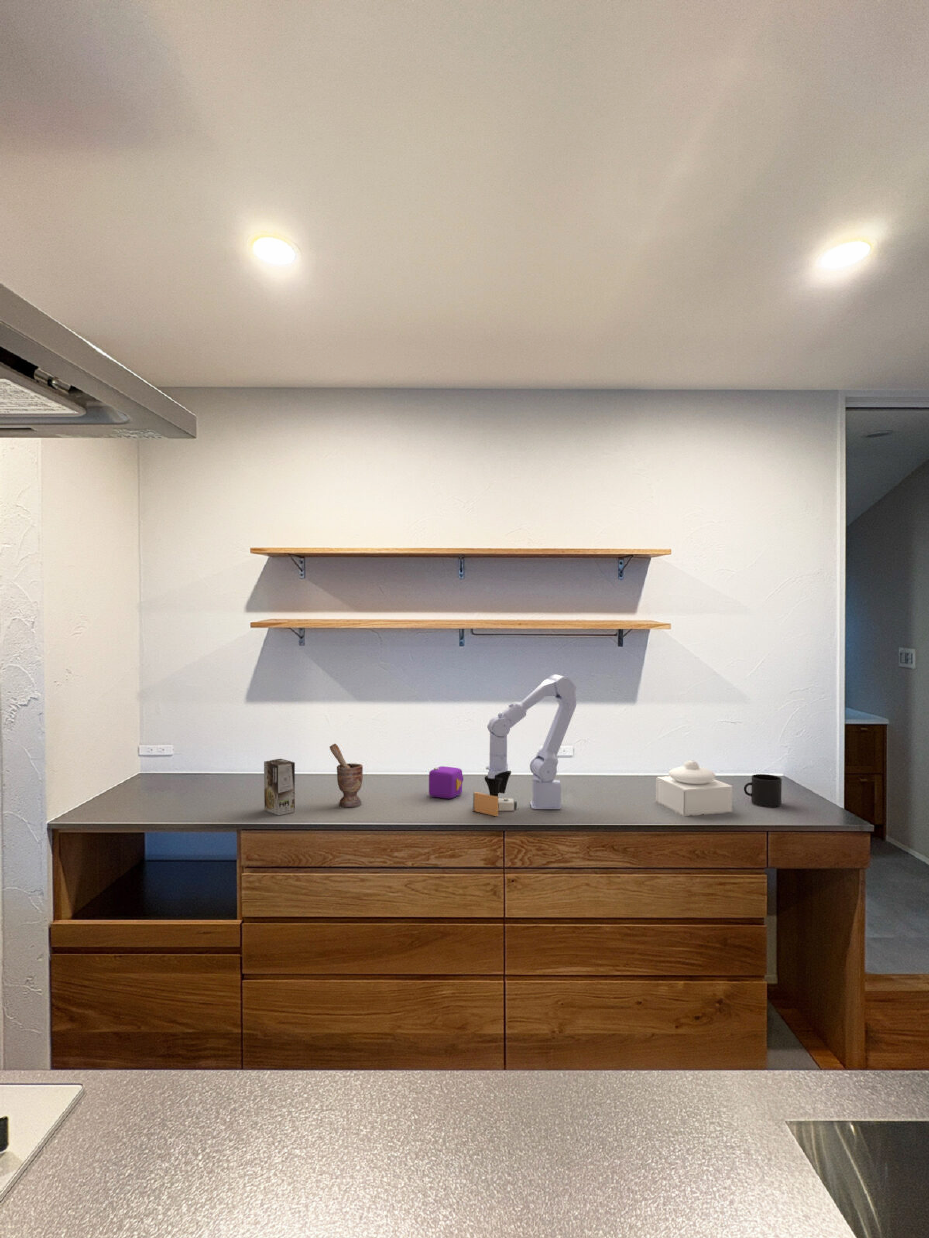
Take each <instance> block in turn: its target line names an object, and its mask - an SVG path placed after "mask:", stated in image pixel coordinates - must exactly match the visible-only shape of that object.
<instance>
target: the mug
mask: <svg viewBox="0 0 929 1238" xmlns="http://www.w3.org/2000/svg"><path fill="white" fill-rule="evenodd" d="M782 780H783V779H782V777H780V776H777V775H773V774H764V773H763V774H762V773H758V774H752V775H751V781H750V782H747V783H745V784H744V787H743V792H744V794H745V795H746V796H748V797H751V798H750V799H751V804H752V805H755V806H757V807H763V808H778V807H781V805H782V792H783V791H782V789H783V788H782V787H783V786H782V785H783V784H782ZM748 786H750V787H751V792H748V790H747V787H748Z"/></svg>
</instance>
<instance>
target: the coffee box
mask: <svg viewBox="0 0 929 1238" xmlns="http://www.w3.org/2000/svg"><path fill="white" fill-rule="evenodd" d="M295 767H296V763H295V762H294V761H291V760H287V759H283V758H276V759H271V760H266V761H264V762H263V783H264V785H263V788H264V789H263V793H264V794H263V797H264V798H263V799H264V801H263V802H264V811H266V812H269V813H271V814H273V815H276V816H282V815H286V814H287V815H288V814H291V813H296V811H295V810H296V807H295V806H296V805H295V804H296V799H295V798H296V793H295V791H296V790H295V789H296V788H295V786H296V784H295V783H296V777H295V775H296V774H295V773H296V772H295V771H296V770H295V769H296V768H295Z"/></svg>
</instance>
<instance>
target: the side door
mask: <svg viewBox="0 0 929 1238" xmlns="http://www.w3.org/2000/svg"><path fill="white" fill-rule="evenodd" d="M498 799H499V796H498V797H496V796H492V795H490V794H487V793H481V792H478V791H473V792H472V811H474V812H478V813H482V814H486V815H490V816H493V817H494V816H495V817H498V816H499V811H498Z"/></svg>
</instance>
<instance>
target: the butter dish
mask: <svg viewBox="0 0 929 1238" xmlns="http://www.w3.org/2000/svg"><path fill="white" fill-rule="evenodd" d="M699 765H700V764H699V763H698V762H697V761H695V760H691V759H690V760H689V759H688V760H687V761H686V762H684V764H683V765H682V766H678V767H677V766H676V767H673V768H672V769H670V770H669V772H668V776H665V775H664V776H656V778H655V802H656V803H658V804H659V805H661V804H662V806H663V805H664V807H665V808H667V809H669V808H670V809H669V810H671V811H673V812H675V813H677V814H679V815H681V816H683V817H689V816H690V815H692V816H700V815H701V814H704V815H713V814H714V815H716V813H717V814H725V813H724V812H730V813H732V808H733V807H732V805H733V804H732V803H733V785H730V784H728V783H725V782H724V781H723V782H722V781H720V780H718V779H716V777H717V776H716V774H715V773H714V772H713V771H712V770H710V769H707V768H705V767H701V766H699ZM690 817H691V816H690Z"/></svg>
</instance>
